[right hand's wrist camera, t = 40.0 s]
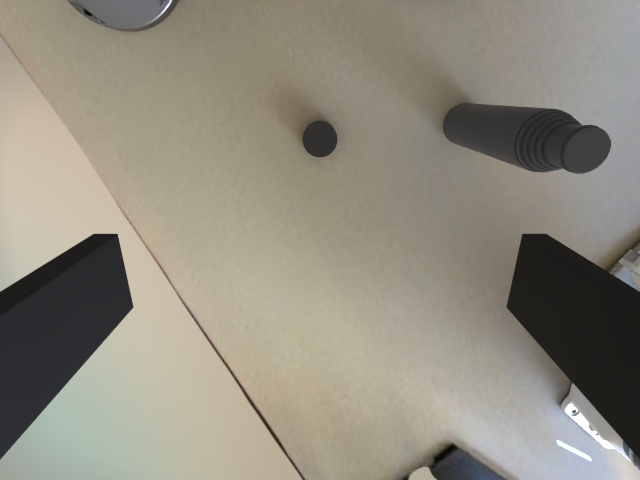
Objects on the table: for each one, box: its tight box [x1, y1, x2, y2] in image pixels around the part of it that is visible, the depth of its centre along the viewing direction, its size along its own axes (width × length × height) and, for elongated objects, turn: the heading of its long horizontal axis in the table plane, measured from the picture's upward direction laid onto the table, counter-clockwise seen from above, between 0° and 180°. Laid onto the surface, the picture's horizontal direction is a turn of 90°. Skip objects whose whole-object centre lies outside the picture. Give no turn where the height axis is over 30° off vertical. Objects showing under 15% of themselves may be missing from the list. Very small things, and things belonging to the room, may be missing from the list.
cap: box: [303, 121, 337, 157], centre depth 49 cm, size 4×4×2 cm
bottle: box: [444, 103, 611, 174], centre depth 38 cm, size 5×5×25 cm
